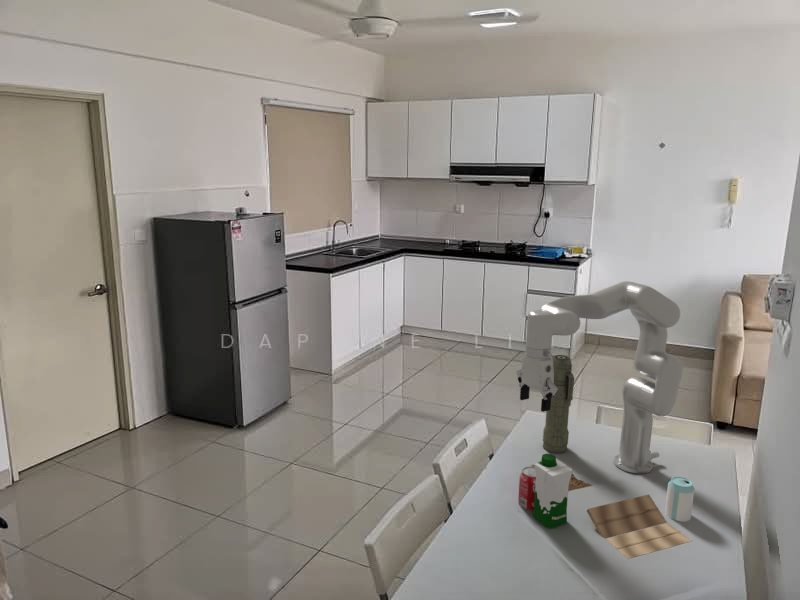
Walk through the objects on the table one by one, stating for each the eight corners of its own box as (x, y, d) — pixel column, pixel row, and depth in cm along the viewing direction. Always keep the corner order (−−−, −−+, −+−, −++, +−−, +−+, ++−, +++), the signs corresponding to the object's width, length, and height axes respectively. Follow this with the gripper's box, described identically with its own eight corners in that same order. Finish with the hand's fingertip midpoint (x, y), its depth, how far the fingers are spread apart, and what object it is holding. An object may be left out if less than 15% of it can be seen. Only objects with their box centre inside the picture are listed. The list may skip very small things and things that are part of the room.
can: (670, 508, 185) (674, 472, 182) (694, 518, 180) (699, 481, 177) (660, 517, 180) (664, 481, 177) (684, 528, 175) (689, 490, 172)
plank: (647, 496, 182) (649, 494, 182) (665, 524, 176) (667, 522, 176) (586, 510, 175) (588, 508, 174) (603, 540, 169) (604, 538, 168)
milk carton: (550, 511, 183) (555, 450, 178) (572, 527, 175) (577, 463, 170) (527, 518, 179) (531, 456, 174) (548, 535, 171) (553, 470, 166)
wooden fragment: (606, 493, 193) (606, 490, 193) (583, 504, 187) (583, 501, 187) (545, 460, 214) (545, 458, 214) (522, 469, 208) (522, 466, 208)
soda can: (543, 504, 186) (546, 468, 184) (538, 516, 180) (541, 479, 177) (521, 498, 189) (523, 463, 187) (515, 510, 183) (517, 474, 180)
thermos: (560, 457, 215) (567, 364, 207) (534, 445, 224) (540, 355, 216) (575, 450, 221) (583, 359, 212) (549, 438, 230) (556, 350, 222)
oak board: (667, 526, 176) (667, 522, 175) (691, 544, 167) (692, 540, 167) (605, 542, 168) (605, 538, 168) (627, 562, 160) (628, 558, 159)
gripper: (568, 358, 177) (563, 412, 181) (528, 342, 192) (525, 393, 196) (548, 362, 173) (544, 417, 177) (510, 345, 188) (507, 397, 192)
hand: (534, 404), depth 186 cm, fingers open, 9 cm apart
